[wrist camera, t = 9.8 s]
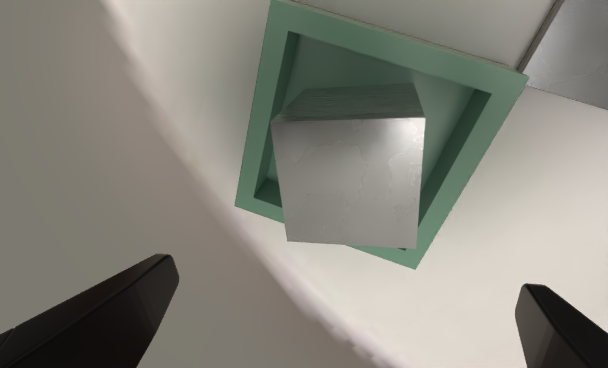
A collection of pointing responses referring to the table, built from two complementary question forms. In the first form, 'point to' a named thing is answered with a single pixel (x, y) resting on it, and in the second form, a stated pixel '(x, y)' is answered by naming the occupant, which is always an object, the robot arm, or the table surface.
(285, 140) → the grey metal cube
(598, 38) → the stud plate
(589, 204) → the table surface
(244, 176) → the tray
